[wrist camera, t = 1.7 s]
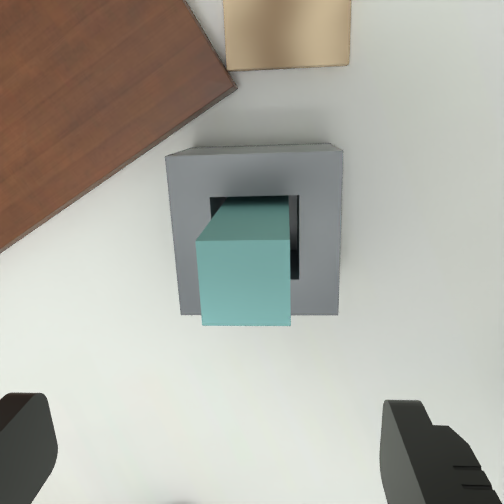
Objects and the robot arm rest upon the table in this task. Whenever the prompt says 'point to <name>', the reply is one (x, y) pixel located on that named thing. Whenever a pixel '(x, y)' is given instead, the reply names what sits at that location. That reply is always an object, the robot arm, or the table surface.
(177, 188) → the grey square socket block
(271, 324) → the plug
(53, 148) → the flat brown board
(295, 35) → the mat
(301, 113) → the table surface
